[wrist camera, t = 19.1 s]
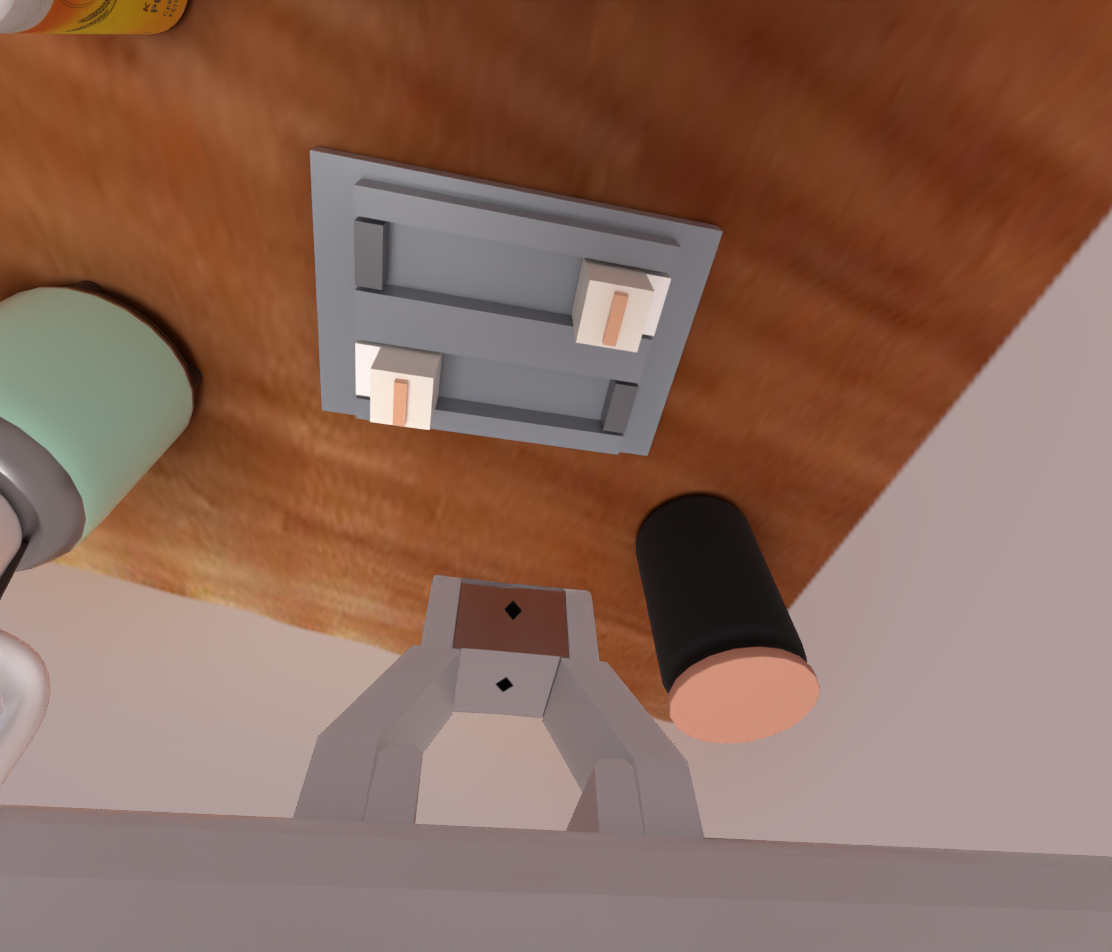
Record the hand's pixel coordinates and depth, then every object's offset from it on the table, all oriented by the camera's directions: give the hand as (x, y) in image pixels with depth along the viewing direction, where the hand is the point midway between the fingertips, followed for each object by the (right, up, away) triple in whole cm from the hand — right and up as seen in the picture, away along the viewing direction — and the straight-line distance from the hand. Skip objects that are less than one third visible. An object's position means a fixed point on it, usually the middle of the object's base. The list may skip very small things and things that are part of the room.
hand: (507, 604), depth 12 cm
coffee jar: (+14, -3, +45) cm, 47 cm away
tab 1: (-10, +10, +32) cm, 35 cm away
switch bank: (-3, +14, +32) cm, 35 cm away
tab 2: (+4, +15, +29) cm, 33 cm away
